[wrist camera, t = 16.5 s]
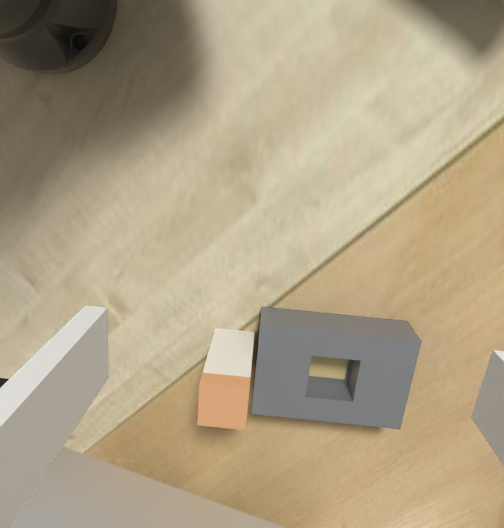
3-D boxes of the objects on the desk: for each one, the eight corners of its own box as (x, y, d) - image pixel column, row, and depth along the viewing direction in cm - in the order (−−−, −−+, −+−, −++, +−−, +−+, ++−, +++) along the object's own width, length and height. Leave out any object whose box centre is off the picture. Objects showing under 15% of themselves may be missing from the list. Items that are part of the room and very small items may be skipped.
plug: (213, 362, 54) (197, 425, 43) (215, 328, 53) (199, 383, 41) (251, 366, 54) (245, 430, 43) (254, 332, 53) (249, 389, 41)
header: (253, 389, 55) (251, 413, 51) (261, 306, 51) (260, 325, 47) (389, 403, 55) (400, 429, 50) (407, 321, 51) (421, 341, 46)
